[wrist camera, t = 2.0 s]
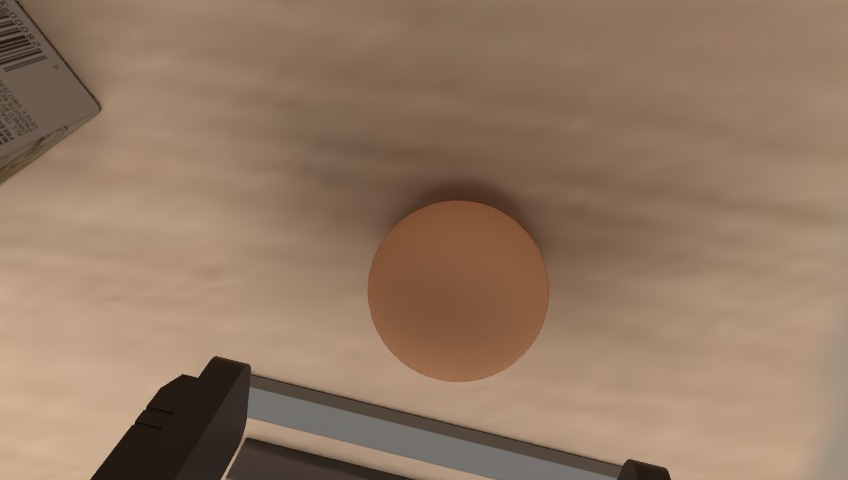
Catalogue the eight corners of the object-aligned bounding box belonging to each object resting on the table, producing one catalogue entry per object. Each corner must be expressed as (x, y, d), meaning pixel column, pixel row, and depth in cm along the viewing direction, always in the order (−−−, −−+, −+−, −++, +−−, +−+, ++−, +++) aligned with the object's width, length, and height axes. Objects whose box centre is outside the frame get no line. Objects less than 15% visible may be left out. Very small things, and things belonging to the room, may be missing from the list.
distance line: (212, 365, 24) (205, 375, 24) (638, 471, 24) (640, 484, 23) (210, 395, 25) (204, 406, 24) (624, 498, 24) (626, 512, 24)
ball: (400, 156, 19) (363, 232, 15) (567, 195, 19) (578, 283, 15) (375, 294, 22) (336, 395, 17) (523, 330, 22) (521, 441, 17)
